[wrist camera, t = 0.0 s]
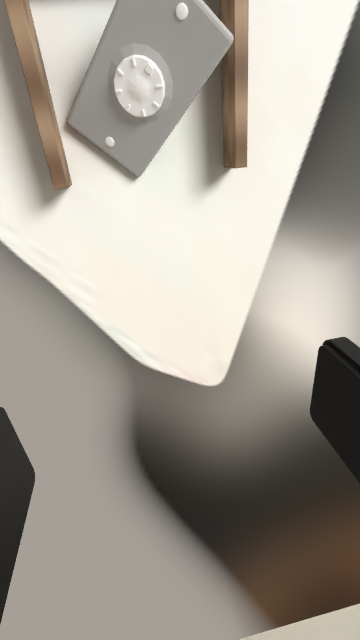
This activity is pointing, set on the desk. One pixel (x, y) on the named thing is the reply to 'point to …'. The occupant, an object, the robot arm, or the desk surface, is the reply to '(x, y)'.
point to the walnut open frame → (232, 87)
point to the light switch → (146, 76)
